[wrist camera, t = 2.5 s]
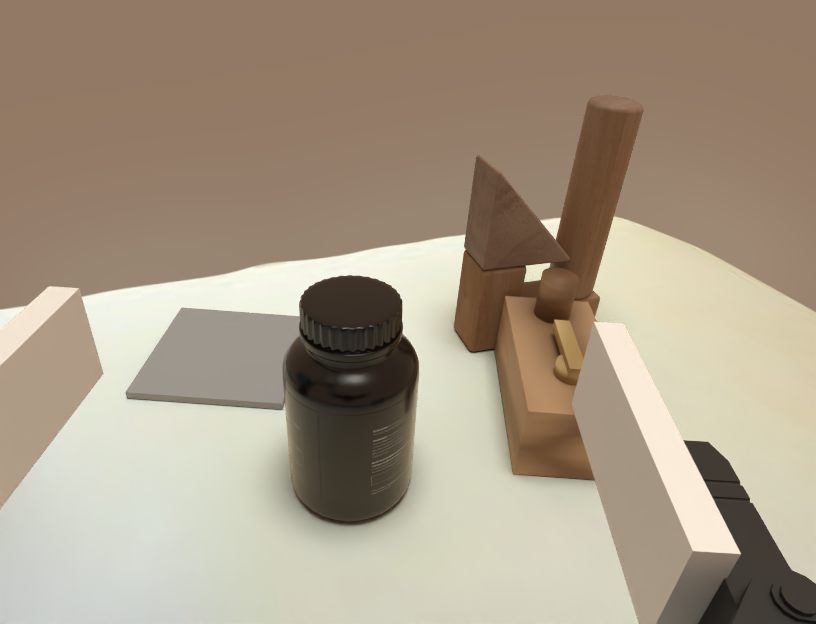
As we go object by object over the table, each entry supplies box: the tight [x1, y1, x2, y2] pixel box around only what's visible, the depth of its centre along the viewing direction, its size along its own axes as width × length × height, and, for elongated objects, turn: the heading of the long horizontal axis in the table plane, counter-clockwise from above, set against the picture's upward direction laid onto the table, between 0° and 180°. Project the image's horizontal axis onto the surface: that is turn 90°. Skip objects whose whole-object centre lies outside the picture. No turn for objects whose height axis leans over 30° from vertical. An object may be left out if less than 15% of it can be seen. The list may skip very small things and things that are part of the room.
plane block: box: [495, 268, 597, 480], centre depth 37 cm, size 6×12×8 cm, turn 178°
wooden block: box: [454, 96, 644, 352], centre depth 42 cm, size 4×11×18 cm, turn 108°
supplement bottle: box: [282, 275, 419, 521], centre depth 30 cm, size 7×7×12 cm
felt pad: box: [126, 308, 300, 409], centre depth 42 cm, size 10×10×1 cm
